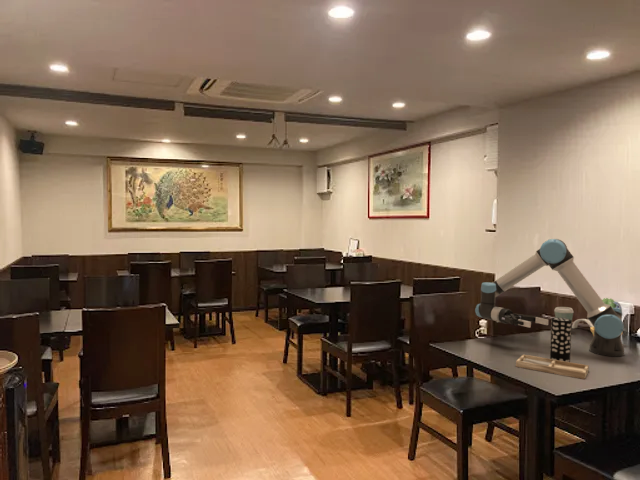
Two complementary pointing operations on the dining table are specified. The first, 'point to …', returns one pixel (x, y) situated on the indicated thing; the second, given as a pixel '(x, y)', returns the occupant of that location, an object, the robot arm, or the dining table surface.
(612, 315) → the robot arm
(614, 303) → the potted cactus
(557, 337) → the spotted tube
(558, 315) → the disposable coffee cup
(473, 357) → the dining table surface
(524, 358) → the tray
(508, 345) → the dining table surface
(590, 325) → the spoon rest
